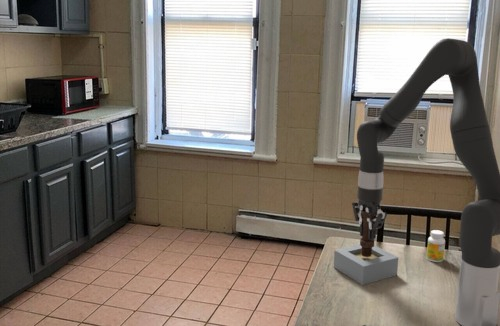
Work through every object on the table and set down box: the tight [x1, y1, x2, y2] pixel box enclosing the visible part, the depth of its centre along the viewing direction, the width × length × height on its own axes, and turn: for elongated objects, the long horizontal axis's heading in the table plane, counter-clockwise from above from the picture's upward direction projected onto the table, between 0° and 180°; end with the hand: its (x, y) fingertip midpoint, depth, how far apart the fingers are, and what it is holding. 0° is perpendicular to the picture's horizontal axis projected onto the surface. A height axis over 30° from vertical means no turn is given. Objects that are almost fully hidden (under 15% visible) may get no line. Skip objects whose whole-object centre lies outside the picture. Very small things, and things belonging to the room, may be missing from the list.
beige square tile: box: [354, 253, 378, 261], centre depth 167 cm, size 7×7×2 cm
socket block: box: [333, 243, 399, 286], centre depth 167 cm, size 14×14×6 cm
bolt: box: [359, 210, 377, 257], centre depth 165 cm, size 6×5×15 cm
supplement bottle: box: [426, 229, 446, 263], centre depth 176 cm, size 5×5×10 cm
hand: (367, 237), depth 165 cm, fingers closed on bolt, 3 cm apart
